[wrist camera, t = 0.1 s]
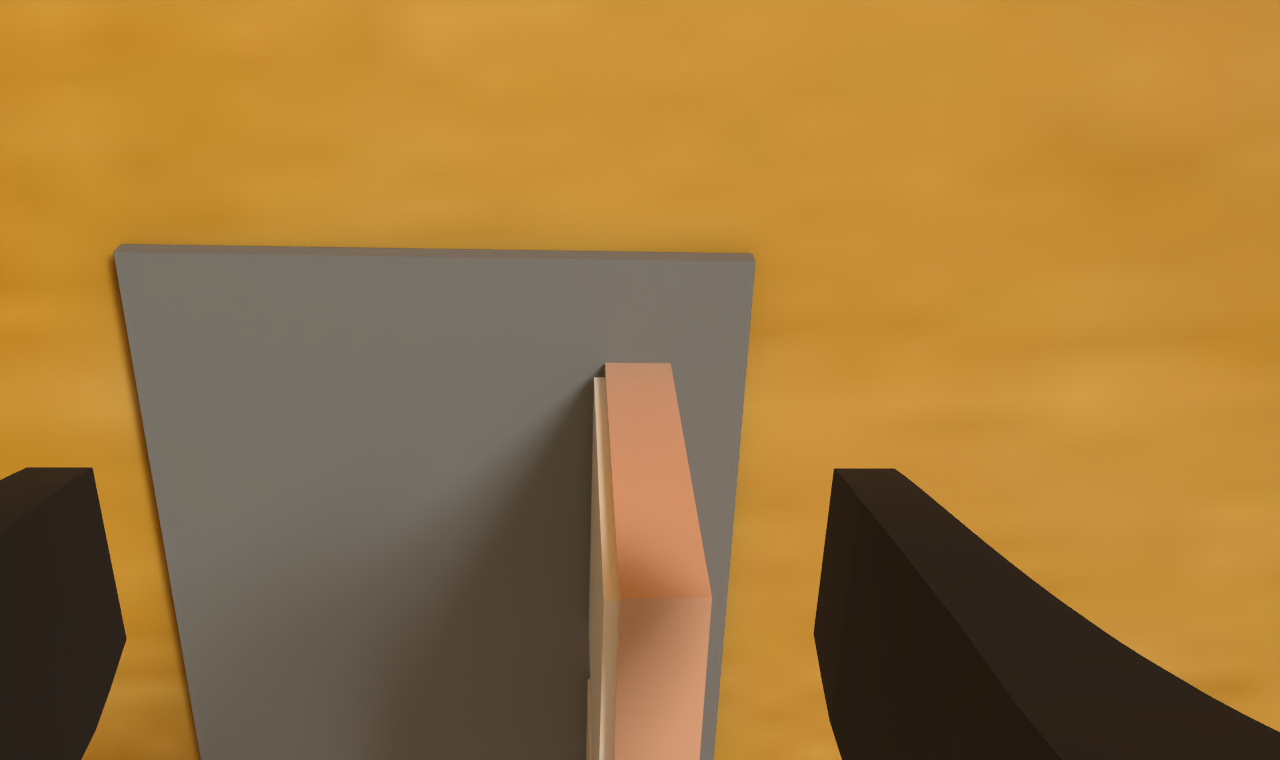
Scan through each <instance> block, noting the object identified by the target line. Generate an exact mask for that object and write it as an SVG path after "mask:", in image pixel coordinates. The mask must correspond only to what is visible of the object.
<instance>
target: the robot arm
mask: <svg viewBox="0 0 1280 760" xmlns="http://www.w3.org/2000/svg"><path fill="white" fill-rule="evenodd" d="M814 638H815V644H816V650H817V655H818V661H819V667H820V672H821V678H822V684H823V689H824V694H825V699H826V704H827V709H828V714H829V719H830V723H831V726H832V729H833V733H834V736H835V739H836V742H837V745H838V748H839V751H840V755H841V758H842V760H1280V732H1278V731H1276V730H1274V729H1272V728H1270V727H1268V726H1266V725H1264V724H1262V723H1260V722H1258V721H1256V720H1254V719H1252V718H1250V717H1248V716H1246V715H1244V714H1242V713H1240V712H1238V711H1237V710H1235V709H1233V708H1231V707H1229V706H1227V705H1225V704H1224V703H1222V702H1220V701H1218V700H1216V699H1214V698H1212V697H1211V696H1209V695H1207V694H1205V693H1203V692H1202V691H1200V690H1198V689H1197V688H1195V687H1193V686H1192V685H1190V684H1188V683H1187V682H1185V681H1183V680H1181V679H1180V678H1178V677H1176V676H1175V675H1173V674H1171V673H1170V672H1168V671H1166V670H1165V669H1163V668H1161V667H1160V666H1158V665H1156V664H1154V663H1153V662H1151V661H1149V660H1148V659H1146V658H1144V657H1143V656H1141V655H1139V654H1138V653H1136V652H1135V651H1133V650H1132V649H1130V648H1129V647H1127V646H1126V645H1124V644H1122V643H1121V642H1119V641H1118V640H1116V639H1115V638H1113V637H1112V636H1110V635H1109V634H1107V633H1106V632H1104V631H1103V630H1101V629H1100V628H1099V627H1097V626H1096V625H1094V624H1093V623H1092V622H1090V621H1089V620H1087V619H1086V618H1084V617H1083V616H1082V615H1080V614H1079V613H1077V612H1076V611H1074V610H1073V609H1072V608H1070V607H1069V606H1067V605H1066V604H1064V603H1063V602H1062V601H1060V600H1059V599H1057V598H1056V597H1055V596H1053V595H1052V594H1051V593H1049V592H1048V591H1047V590H1045V589H1044V588H1043V587H1041V586H1040V585H1039V584H1037V583H1036V582H1035V581H1033V580H1032V579H1031V578H1029V577H1028V576H1027V575H1026V574H1024V573H1023V572H1022V571H1020V570H1019V569H1018V568H1017V567H1015V566H1014V565H1013V564H1011V563H1010V562H1009V561H1008V560H1006V559H1005V558H1004V557H1003V556H1001V555H1000V554H999V553H998V552H996V551H995V550H994V549H993V548H991V547H990V546H989V545H988V544H987V543H985V542H984V541H983V540H982V539H980V538H979V537H978V536H977V535H976V534H974V533H973V532H972V531H971V530H970V529H968V528H967V527H966V526H965V525H964V524H962V523H961V522H960V521H959V520H958V519H956V518H955V517H954V516H953V515H952V514H950V513H949V512H948V511H947V510H946V509H944V508H943V507H942V506H941V505H940V504H938V503H937V502H936V501H935V500H934V499H932V498H931V497H930V496H929V495H928V494H926V493H925V492H924V491H923V490H922V489H920V488H919V487H918V486H917V485H915V484H914V483H913V482H912V481H910V480H909V479H908V478H907V477H905V476H904V475H903V474H901V473H900V472H898V471H897V470H896V469H834V473H833V481H832V489H831V498H830V506H829V514H828V522H827V530H826V538H825V546H824V554H823V562H822V570H821V579H820V587H819V595H818V603H817V611H816V619H815V627H814ZM125 642H126V634H125V629H124V624H123V619H122V614H121V609H120V604H119V599H118V594H117V589H116V584H115V579H114V574H113V569H112V564H111V559H110V554H109V549H108V544H107V539H106V534H105V529H104V524H103V519H102V514H101V509H100V504H99V499H98V494H97V489H96V484H95V478H94V473H93V468H25V469H23V470H21V471H19V472H16V473H14V474H12V475H10V476H8V477H6V478H4V479H2V480H0V760H81V759H82V757H83V755H84V753H85V751H86V749H87V747H88V745H89V743H90V741H91V738H92V736H93V734H94V732H95V730H96V728H97V725H98V722H99V719H100V716H101V714H102V711H103V708H104V705H105V702H106V700H107V697H108V694H109V691H110V689H111V685H112V682H113V679H114V676H115V673H116V670H117V667H118V664H119V660H120V657H121V654H122V651H123V648H124V645H125Z"/></svg>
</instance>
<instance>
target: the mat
mask: <svg viewBox="0 0 1280 760" xmlns="http://www.w3.org/2000/svg"><path fill="white" fill-rule="evenodd" d="M113 253H114V258H115V264H116V270H117V276H118V282H119V288H120V293H121V299H122V305H123V311H124V317H125V322H126V328H127V334H128V340H129V346H130V351H131V357H132V363H133V369H134V375H135V380H136V386H137V392H138V398H139V404H140V410H141V415H142V421H143V427H144V433H145V439H146V444H147V450H148V456H149V462H150V468H151V473H152V479H153V485H154V491H155V497H156V503H157V508H158V514H159V520H160V526H161V532H162V537H163V543H164V549H165V555H166V561H167V566H168V572H169V578H170V584H171V590H172V595H173V601H174V607H175V613H176V619H177V625H178V630H179V636H180V642H181V648H182V654H183V659H184V665H185V671H186V677H187V683H188V688H189V694H190V700H191V706H192V712H193V717H194V723H195V729H196V735H197V741H198V747H199V752H200V758H201V760H586V736H587V688H588V679H590V653H589V593H590V545H591V497H592V449H593V401H594V377H605V363H671V368H672V374H673V379H674V385H675V391H676V396H677V402H678V408H679V413H680V419H681V425H682V430H683V436H684V442H685V447H686V453H687V459H688V464H689V470H690V476H691V481H692V487H693V493H694V498H695V504H696V510H697V515H698V521H699V527H700V532H701V538H702V544H703V549H704V555H705V561H706V566H707V572H708V578H709V583H710V589H711V595H712V605H711V618H710V631H709V644H708V657H707V669H706V682H705V695H704V708H703V721H702V734H701V747H700V759H699V760H713V757H714V745H715V733H716V721H717V709H718V697H719V686H720V674H721V662H722V650H723V638H724V627H725V615H726V603H727V591H728V579H729V567H730V556H731V544H732V532H733V520H734V508H735V497H736V485H737V473H738V461H739V449H740V438H741V426H742V414H743V402H744V390H745V378H746V367H747V355H748V343H749V331H750V319H751V308H752V296H753V284H754V272H755V259H754V257H753V254H742V253H676V252H609V251H543V250H476V249H410V248H344V247H277V246H211V245H145V244H121V245H120V246H119V247H118V248H117V249H116V250H115V251H114V252H113Z"/></svg>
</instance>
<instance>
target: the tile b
mask: <svg viewBox="0 0 1280 760" xmlns="http://www.w3.org/2000/svg"><path fill="white" fill-rule="evenodd" d="M711 605H712V595H711V589H710V583H709V578H708V572H707V566H706V561H705V555H704V549H703V544H702V538H701V532H700V527H699V521H698V515H697V510H696V504H695V498H694V493H693V487H692V481H691V476H690V470H689V464H688V459H687V453H686V447H685V442H684V436H683V430H682V425H681V419H680V413H679V408H678V402H677V396H676V391H675V385H674V379H673V374H672V368H671V363H605V377H594V401H593V449H592V497H591V545H590V593H589V653H590V695H591V736H592V760H699V759H700V747H701V734H702V721H703V708H704V695H705V682H706V669H707V657H708V644H709V631H710V618H711Z"/></svg>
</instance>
